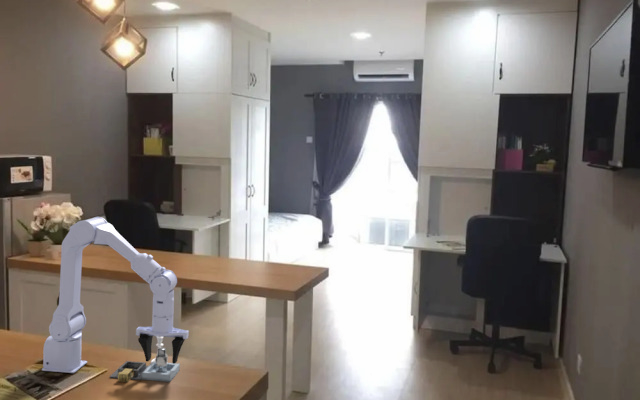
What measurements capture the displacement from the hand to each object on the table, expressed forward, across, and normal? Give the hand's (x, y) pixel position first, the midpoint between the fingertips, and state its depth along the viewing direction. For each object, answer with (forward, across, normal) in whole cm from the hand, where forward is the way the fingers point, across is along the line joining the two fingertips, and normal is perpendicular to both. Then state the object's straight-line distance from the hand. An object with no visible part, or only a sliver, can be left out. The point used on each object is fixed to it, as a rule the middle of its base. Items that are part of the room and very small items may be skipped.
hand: (161, 361), depth 155 cm
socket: (+4, -8, 0) cm, 9 cm away
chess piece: (+4, -4, +8) cm, 10 cm away
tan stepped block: (+4, -8, -4) cm, 10 cm away
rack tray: (+4, 0, 0) cm, 4 cm away
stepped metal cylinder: (+3, 0, 0) cm, 3 cm away
